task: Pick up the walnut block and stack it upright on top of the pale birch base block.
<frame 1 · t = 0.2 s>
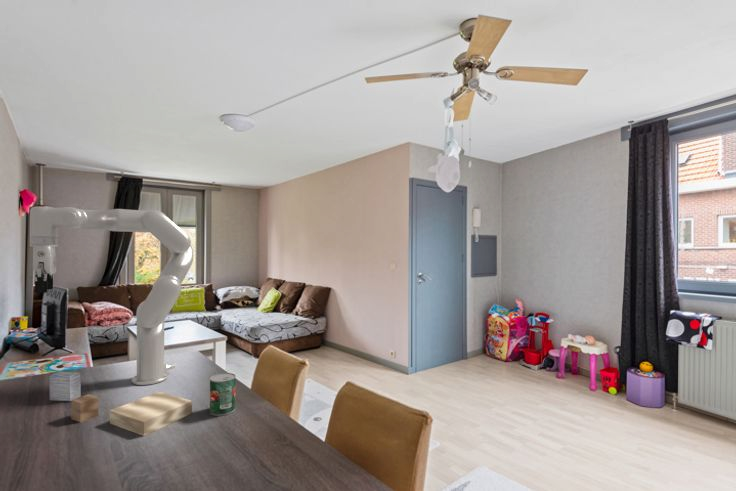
hand: (44, 291, 134), 37 cm above the table, tool pointing down, fingers open, 9 cm apart
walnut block: (84, 417, 119), on the table
medicine box: (65, 399, 133), on the table
birch base: (152, 418, 119), on the table
canned tomato: (222, 411, 125), on the table
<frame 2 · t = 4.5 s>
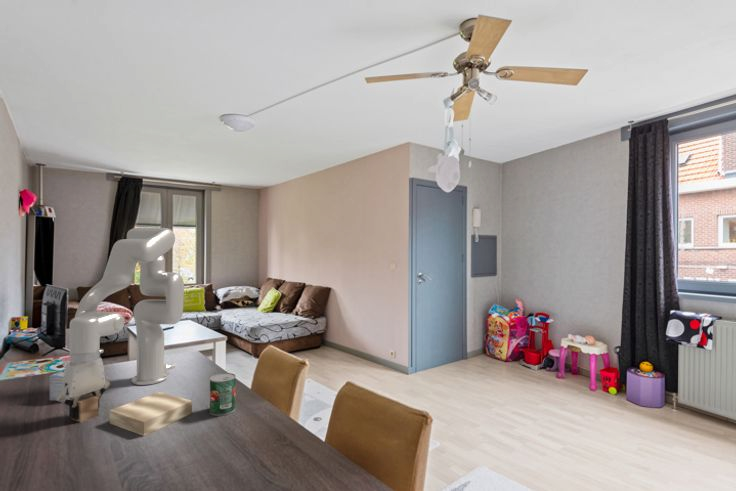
hand: (84, 414, 119), 1 cm above the table, tool pointing down, fingers closed on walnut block, 5 cm apart
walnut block: (84, 417, 119), on the table, touching gripper
everything else where it was.
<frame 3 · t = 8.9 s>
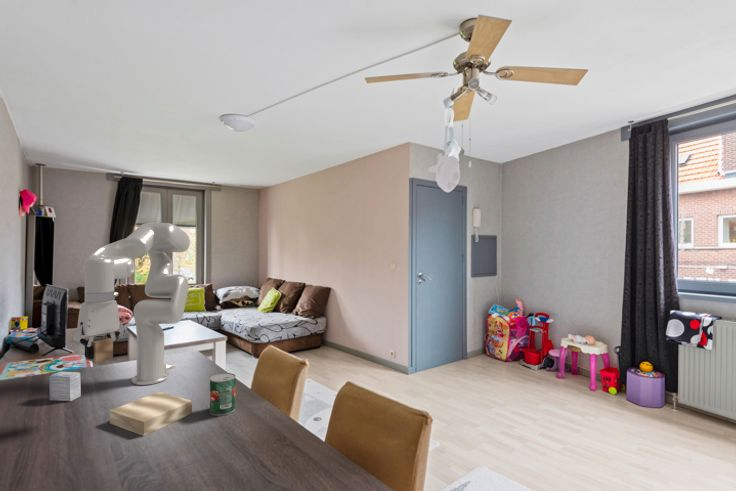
hand: (99, 355, 119), 19 cm above the table, tool pointing down, fingers closed on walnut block, 4 cm apart
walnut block: (99, 358, 119), point 18 cm above the table, touching gripper
everything else where it was.
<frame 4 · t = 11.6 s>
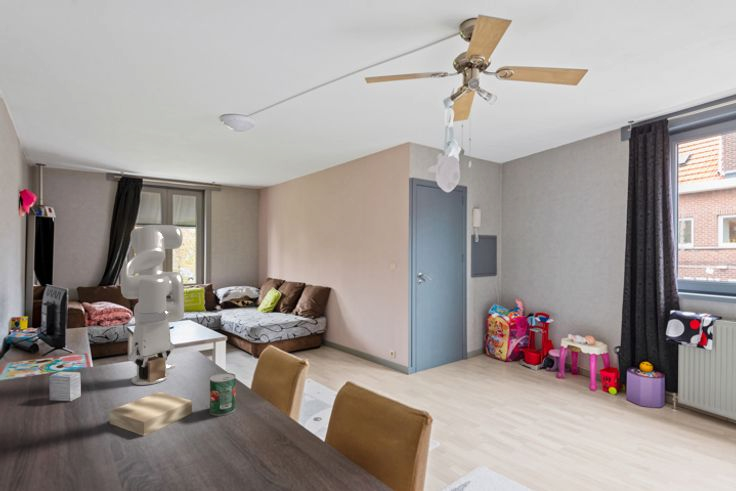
hand: (152, 375, 119), 13 cm above the table, tool pointing down, fingers closed on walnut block, 4 cm apart
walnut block: (152, 378, 119), point 12 cm above the table, touching gripper
everything else where it was.
when the fingers open (6 cm above the table, at t = 13.7 s): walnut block stays where it is, resting on birch base.
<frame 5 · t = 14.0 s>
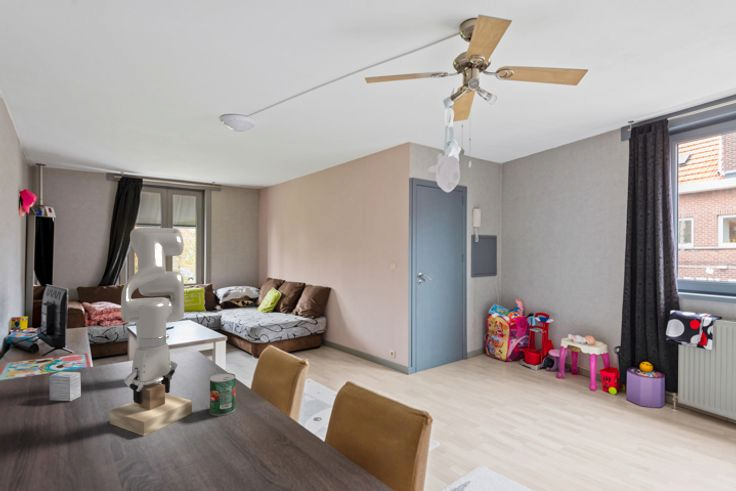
hand: (152, 397, 119), 7 cm above the table, tool pointing down, fingers open, 8 cm apart
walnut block: (152, 405, 119), point 4 cm above the table, touching birch base
everything else where it was.
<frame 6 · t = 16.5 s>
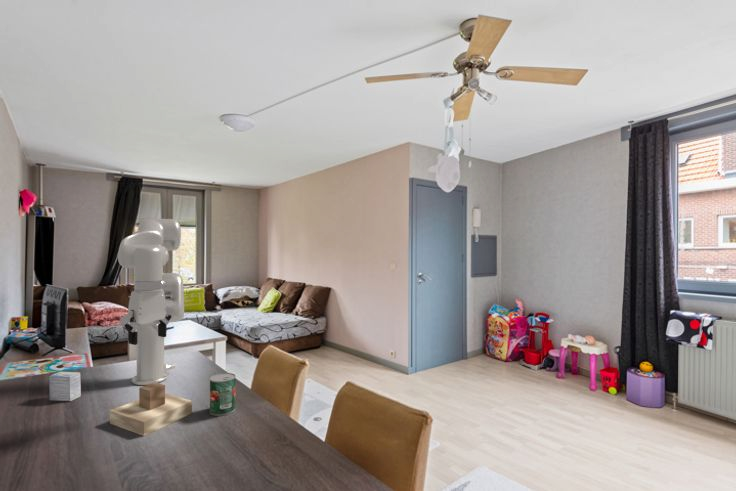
hand: (148, 340, 121), 24 cm above the table, tool pointing down, fingers open, 9 cm apart
nothing on the table moved.
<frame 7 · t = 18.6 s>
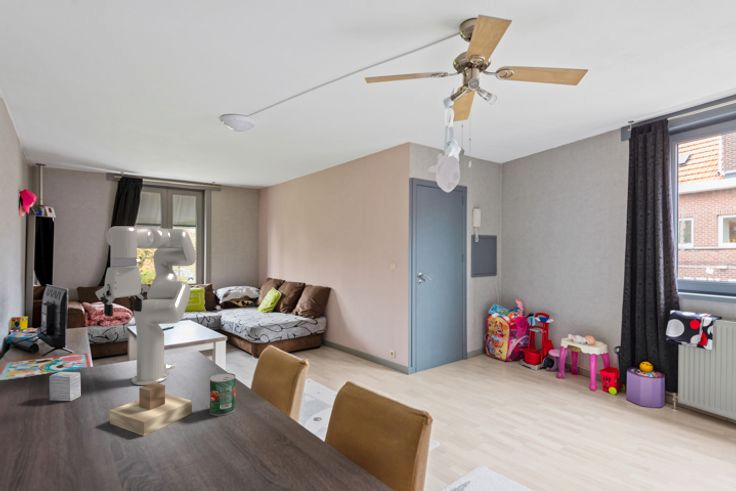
hand: (123, 313, 130), 30 cm above the table, tool pointing down, fingers open, 9 cm apart
nothing on the table moved.
at the end: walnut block inside the target area on the birch base (0.0 cm from its centre), point 4.0 cm above the birch base's base; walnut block tilted 0°; the gripper is holding nothing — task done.
